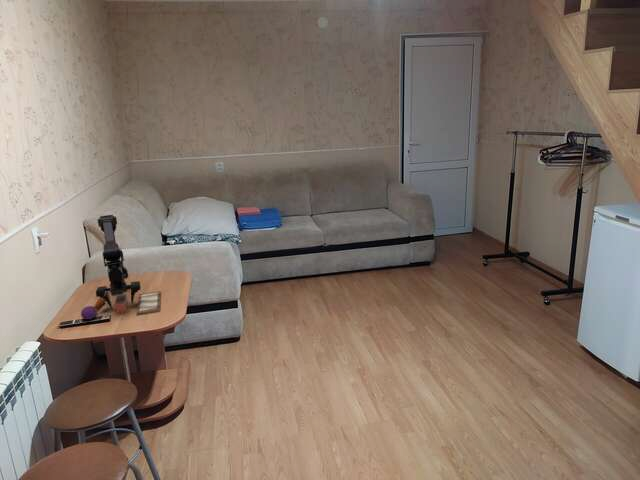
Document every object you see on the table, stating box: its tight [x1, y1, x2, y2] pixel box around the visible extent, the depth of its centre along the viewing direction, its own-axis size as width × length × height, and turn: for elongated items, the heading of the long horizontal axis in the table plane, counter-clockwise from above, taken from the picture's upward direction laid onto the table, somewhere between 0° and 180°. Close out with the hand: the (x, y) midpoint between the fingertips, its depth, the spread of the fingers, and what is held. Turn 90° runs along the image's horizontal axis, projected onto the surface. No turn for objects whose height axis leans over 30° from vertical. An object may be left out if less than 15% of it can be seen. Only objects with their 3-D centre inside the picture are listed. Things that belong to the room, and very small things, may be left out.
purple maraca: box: [80, 297, 107, 320], centre depth 214 cm, size 6×6×20 cm
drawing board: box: [136, 290, 162, 316], centre depth 220 cm, size 24×10×1 cm, turn 17°
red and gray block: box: [114, 293, 129, 314], centre depth 217 cm, size 11×4×4 cm, turn 17°
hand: (121, 305), depth 217 cm, fingers open, 9 cm apart
